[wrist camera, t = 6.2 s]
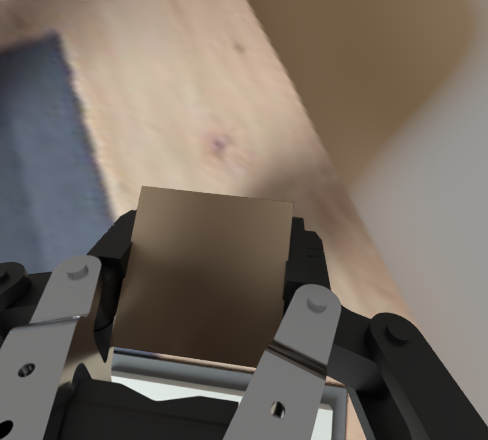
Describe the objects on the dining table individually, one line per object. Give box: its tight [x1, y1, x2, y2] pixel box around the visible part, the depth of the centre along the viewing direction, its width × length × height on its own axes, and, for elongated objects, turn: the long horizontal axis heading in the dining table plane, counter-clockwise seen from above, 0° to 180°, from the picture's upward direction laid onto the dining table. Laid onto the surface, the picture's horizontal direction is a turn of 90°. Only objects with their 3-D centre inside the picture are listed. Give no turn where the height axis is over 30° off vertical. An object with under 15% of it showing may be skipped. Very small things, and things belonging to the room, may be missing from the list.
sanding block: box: [113, 186, 293, 368], centre depth 12 cm, size 5×5×7 cm
